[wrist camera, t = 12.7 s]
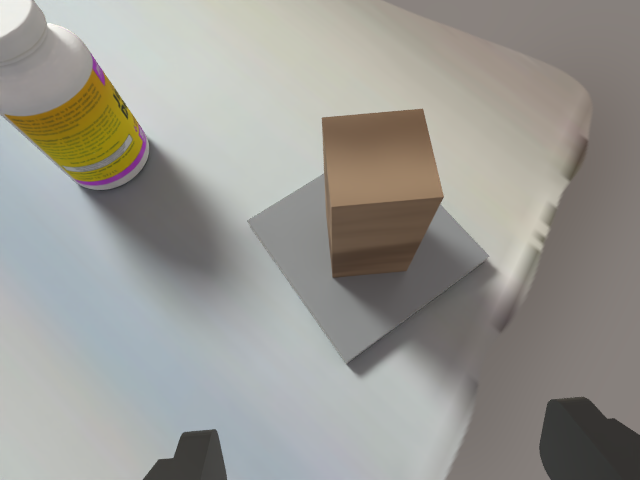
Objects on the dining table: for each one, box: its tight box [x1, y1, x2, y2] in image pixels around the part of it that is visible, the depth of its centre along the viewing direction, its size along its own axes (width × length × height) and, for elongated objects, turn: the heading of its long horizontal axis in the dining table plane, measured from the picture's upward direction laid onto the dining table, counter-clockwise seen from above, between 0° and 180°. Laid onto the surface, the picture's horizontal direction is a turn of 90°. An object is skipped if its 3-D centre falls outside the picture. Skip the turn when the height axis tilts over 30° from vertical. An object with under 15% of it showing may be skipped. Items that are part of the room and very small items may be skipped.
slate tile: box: [248, 174, 489, 364], centre depth 28 cm, size 12×12×1 cm
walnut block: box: [322, 109, 444, 278], centre depth 23 cm, size 5×5×10 cm
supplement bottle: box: [0, 0, 149, 190], centre depth 27 cm, size 7×7×13 cm
